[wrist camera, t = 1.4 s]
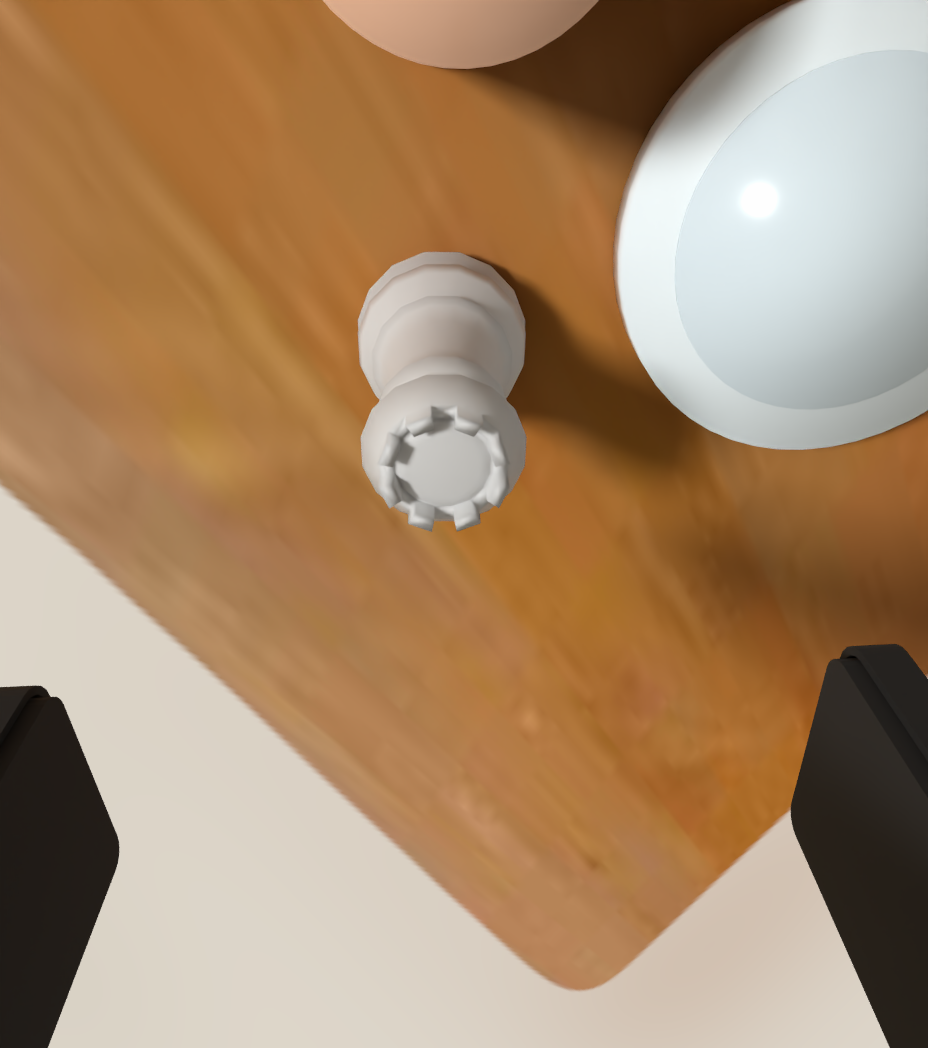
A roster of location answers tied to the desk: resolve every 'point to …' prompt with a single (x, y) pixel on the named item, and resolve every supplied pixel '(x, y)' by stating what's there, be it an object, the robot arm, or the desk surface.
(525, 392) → the desk surface
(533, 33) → the peach dome knob
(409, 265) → the rook chess piece
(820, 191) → the dish
